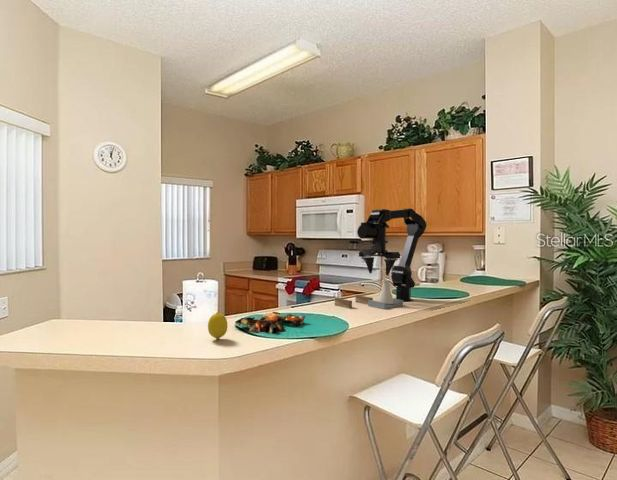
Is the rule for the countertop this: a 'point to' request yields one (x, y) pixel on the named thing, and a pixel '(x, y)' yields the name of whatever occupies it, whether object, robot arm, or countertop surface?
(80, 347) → the countertop surface
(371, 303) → the cradle
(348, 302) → the channel
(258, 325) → the food
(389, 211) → the robot arm
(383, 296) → the flask
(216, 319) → the lemon
